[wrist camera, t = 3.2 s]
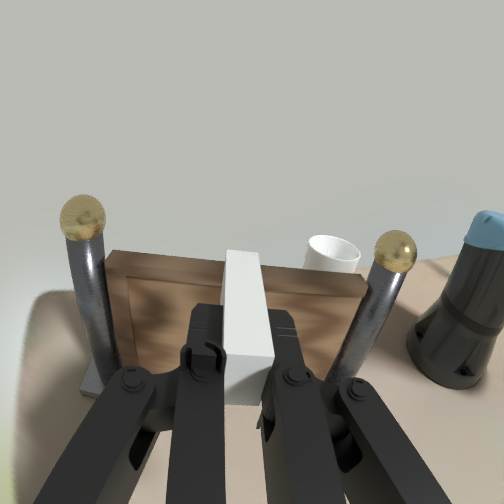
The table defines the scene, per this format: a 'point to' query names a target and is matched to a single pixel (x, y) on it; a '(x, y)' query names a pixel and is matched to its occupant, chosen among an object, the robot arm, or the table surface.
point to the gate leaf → (209, 292)
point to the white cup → (331, 255)
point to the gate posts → (101, 319)
